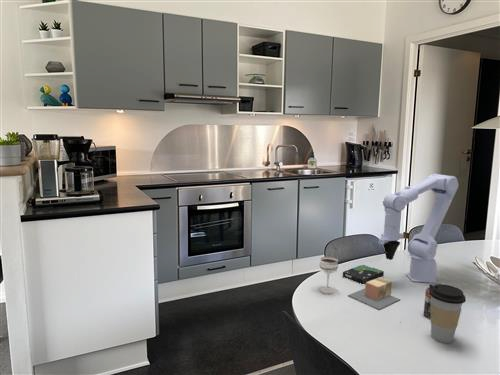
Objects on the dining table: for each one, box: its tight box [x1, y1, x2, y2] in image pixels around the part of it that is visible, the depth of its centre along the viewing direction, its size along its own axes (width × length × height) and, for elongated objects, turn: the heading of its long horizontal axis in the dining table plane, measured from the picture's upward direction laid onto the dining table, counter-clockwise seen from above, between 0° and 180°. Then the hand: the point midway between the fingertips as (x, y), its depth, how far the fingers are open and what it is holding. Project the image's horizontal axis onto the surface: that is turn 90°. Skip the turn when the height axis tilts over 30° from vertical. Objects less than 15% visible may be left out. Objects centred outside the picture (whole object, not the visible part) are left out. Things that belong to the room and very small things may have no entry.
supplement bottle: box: [423, 281, 442, 320], centre depth 123 cm, size 6×6×11 cm
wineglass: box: [319, 256, 339, 294], centre depth 141 cm, size 7×7×12 cm
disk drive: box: [342, 264, 385, 285], centre depth 156 cm, size 10×3×15 cm
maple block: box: [364, 277, 393, 301], centre depth 138 cm, size 5×5×9 cm
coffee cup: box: [429, 283, 466, 344], centre depth 110 cm, size 9×9×15 cm
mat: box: [347, 287, 401, 311], centre depth 136 cm, size 13×13×1 cm
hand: (389, 258), depth 148 cm, fingers closed
